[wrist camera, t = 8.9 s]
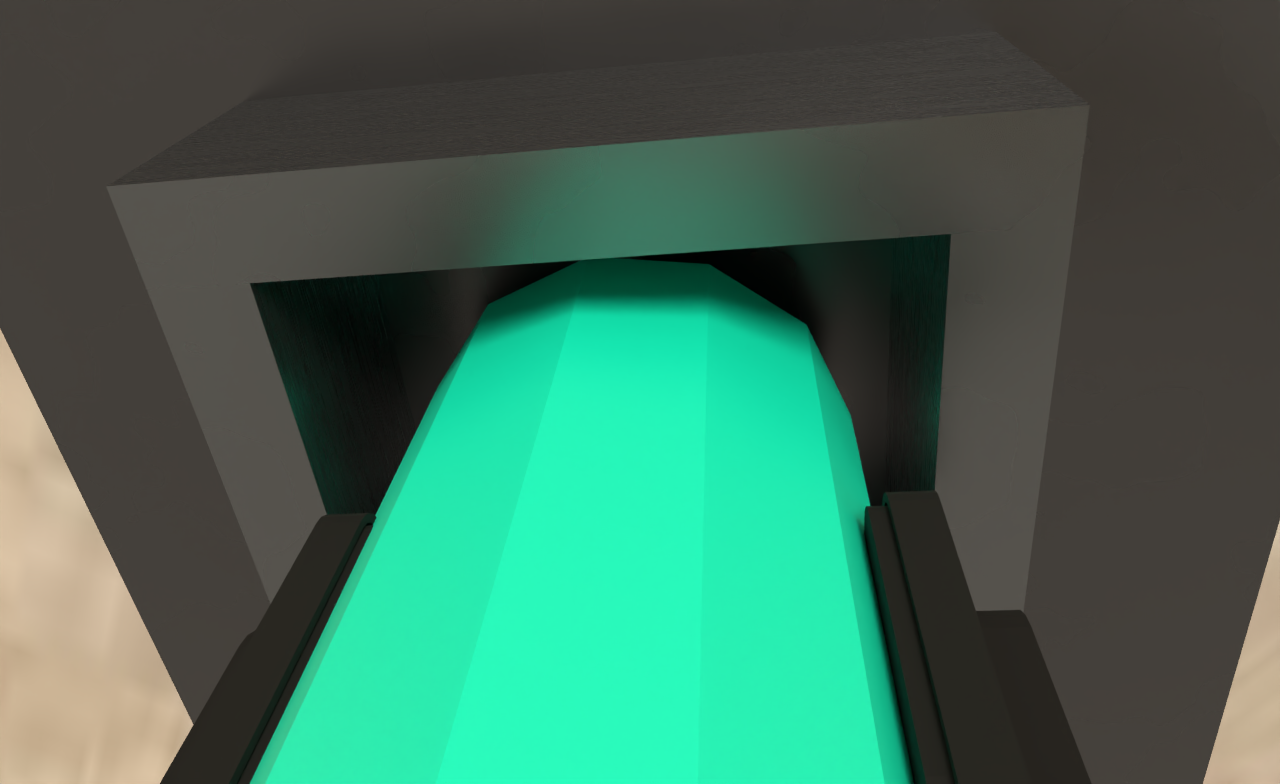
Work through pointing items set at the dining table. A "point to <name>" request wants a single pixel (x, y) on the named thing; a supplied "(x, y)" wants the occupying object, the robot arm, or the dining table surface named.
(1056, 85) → the socket holder
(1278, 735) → the dining table surface
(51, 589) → the dining table surface
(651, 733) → the candle
